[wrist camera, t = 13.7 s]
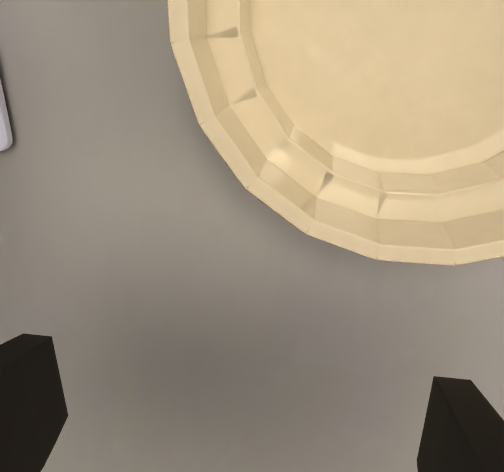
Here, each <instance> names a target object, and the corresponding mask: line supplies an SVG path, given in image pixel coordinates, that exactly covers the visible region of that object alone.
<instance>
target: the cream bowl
mask: <svg viewBox="0 0 504 472" xmlns="http://www.w3.org/2000/svg"><path fill="white" fill-rule="evenodd" d="M167 5H168V21H169V37H170V42H171V48H172V51H173V53H174V56H175V59H176V62H177V65H178V67H179V70H180V73H181V76H182V79H183V82H184V84H185V87H186V90H187V93H188V96H189V99H190V101H191V104H192V107H193V110H194V113H195V116H196V118H197V121H198V123H199V124H200V128H201V129H202V130H203V132H204V133H205V134H206V136H207V137H208V139H209V140H210V141H211V143H212V144H213V145H214V147H215V148H216V150H217V151H218V152H219V154H220V155H221V156H222V158H223V159H224V161H225V162H226V163H227V165H228V166H229V167H230V169H231V170H232V172H233V173H234V174H235V176H236V177H237V178H238V180H239V181H240V183H241V184H242V185H243V187H244V188H246V189H247V191H249V192H250V193H251V194H253V195H254V196H255V197H257V198H258V199H259V200H261V201H262V202H263V203H265V204H266V205H267V206H269V207H270V208H271V209H273V210H274V211H275V212H277V213H278V214H279V215H281V216H282V217H283V218H285V219H286V220H287V221H289V222H290V223H291V224H293V225H294V226H295V227H297V228H298V229H299V230H301V231H302V232H303V233H306V234H307V235H309V236H312V237H314V238H317V239H320V240H323V241H325V242H328V243H331V244H334V245H336V246H339V247H342V248H344V249H347V250H350V251H353V252H355V253H358V254H361V255H363V256H366V257H369V258H372V259H376V260H382V261H395V262H409V263H423V264H436V265H450V266H453V265H461V264H466V263H471V262H477V261H482V260H487V259H492V258H498V257H503V256H504V0H167Z"/></svg>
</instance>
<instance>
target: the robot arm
mask: <svg viewBox="0 0 504 472" xmlns="http://www.w3.org/2000/svg"><path fill="white" fill-rule="evenodd" d="M12 142H13V141H12V132H11V127H10V123H9V118H8V113H7V108H6V103H5V98H4V93H3V89H2V84H1V79H0V151H3V150H6V149H8V148H9V147H10V146H11V144H12ZM67 417H68V412H67V407H66V403H65V398H64V393H63V388H62V384H61V379H60V374H59V369H58V364H57V360H56V355H55V350H54V345H53V340H52V337H51V336H41V335H32V334H21V335H19V336H17V337H15V338H13V339H11V340H9V341H7V342H5V343H3V344H1V345H0V472H41V470H42V468H43V467H44V465H45V463H46V461H47V459H48V457H49V455H50V453H51V451H52V449H53V447H54V445H55V443H56V441H57V439H58V437H59V434H60V432H61V430H62V428H63V426H64V424H65V421H66V419H67ZM417 466H418V472H504V420H503V419H502V418H501V417H500V415H499V414H498V413H497V412H496V410H495V409H494V408H493V407H492V406H491V404H490V403H489V402H488V401H487V399H486V398H485V397H484V396H483V394H482V393H481V392H480V391H479V390H478V388H477V387H476V386H475V385H474V384H473V382H472V381H471V380H465V379H455V378H446V377H436V376H434V378H433V383H432V388H431V393H430V398H429V403H428V408H427V413H426V418H425V423H424V428H423V432H422V437H421V442H420V447H419V452H418V457H417Z"/></svg>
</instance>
